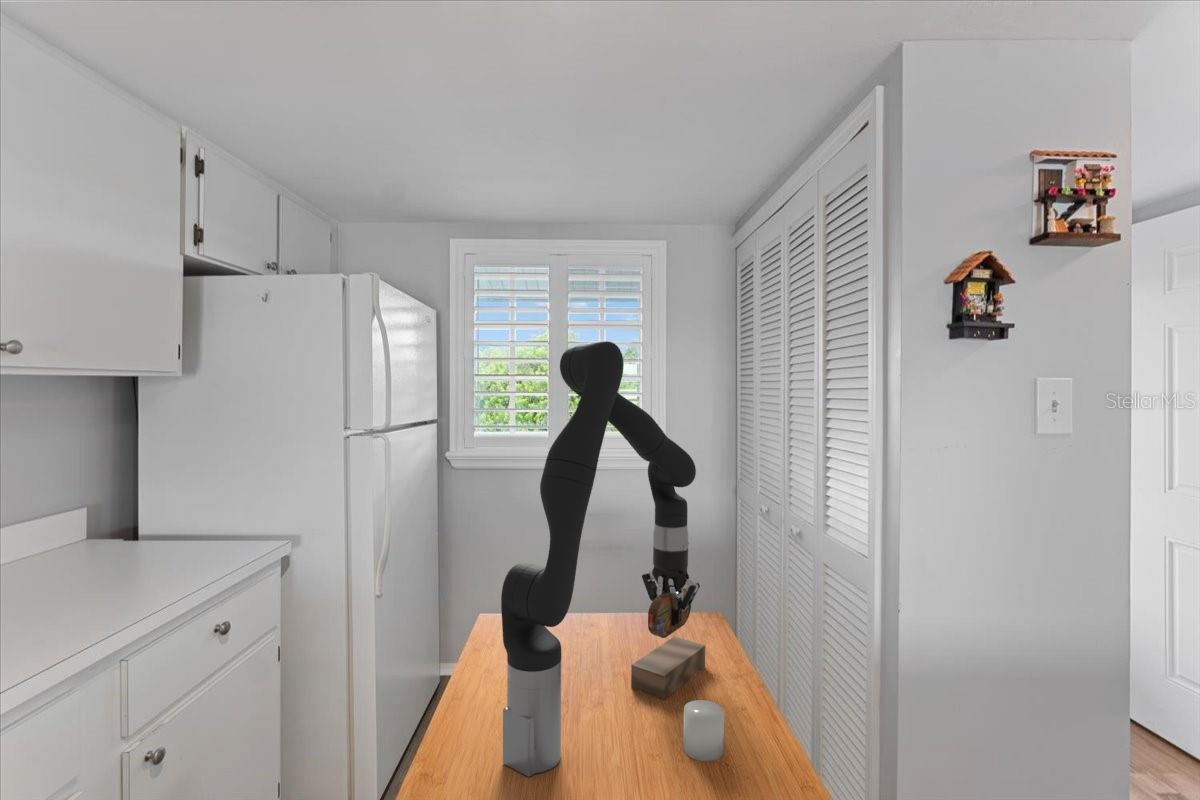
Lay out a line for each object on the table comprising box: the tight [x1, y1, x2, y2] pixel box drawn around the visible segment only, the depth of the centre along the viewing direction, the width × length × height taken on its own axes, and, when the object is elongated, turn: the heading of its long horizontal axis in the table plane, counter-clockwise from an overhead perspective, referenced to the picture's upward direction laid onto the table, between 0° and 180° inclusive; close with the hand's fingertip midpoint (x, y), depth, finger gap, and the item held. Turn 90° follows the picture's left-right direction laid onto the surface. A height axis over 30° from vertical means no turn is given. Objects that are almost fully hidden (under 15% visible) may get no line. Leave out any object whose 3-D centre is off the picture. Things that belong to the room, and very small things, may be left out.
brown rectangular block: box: [630, 636, 706, 701], centre depth 137 cm, size 18×8×5 cm, turn 143°
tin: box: [647, 587, 692, 639], centre depth 136 cm, size 15×3×8 cm, turn 143°
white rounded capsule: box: [682, 699, 725, 762], centre depth 111 cm, size 7×7×7 cm
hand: (669, 622), depth 136 cm, fingers closed on tin, 2 cm apart
